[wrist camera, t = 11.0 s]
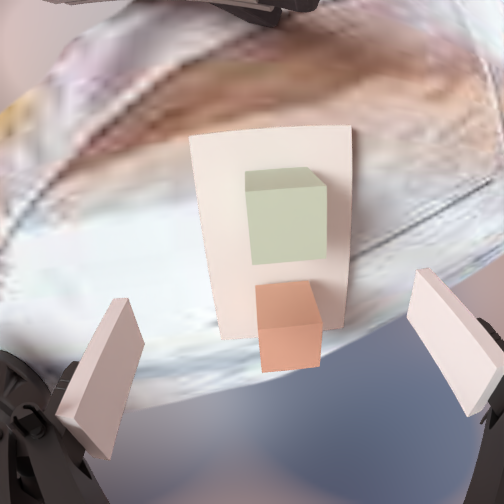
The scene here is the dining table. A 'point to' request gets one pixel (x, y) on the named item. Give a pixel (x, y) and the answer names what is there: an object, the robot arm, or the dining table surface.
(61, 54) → the dining table surface
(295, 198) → the pale green block
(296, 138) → the stand
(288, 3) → the grey curved bar
